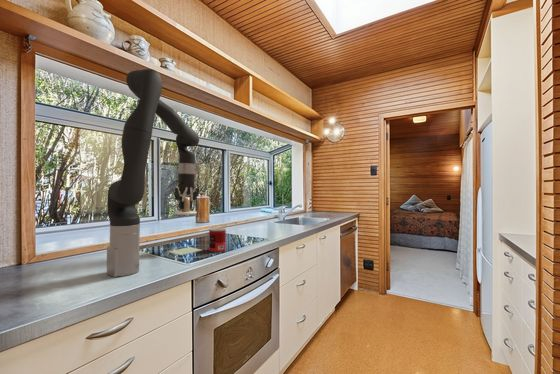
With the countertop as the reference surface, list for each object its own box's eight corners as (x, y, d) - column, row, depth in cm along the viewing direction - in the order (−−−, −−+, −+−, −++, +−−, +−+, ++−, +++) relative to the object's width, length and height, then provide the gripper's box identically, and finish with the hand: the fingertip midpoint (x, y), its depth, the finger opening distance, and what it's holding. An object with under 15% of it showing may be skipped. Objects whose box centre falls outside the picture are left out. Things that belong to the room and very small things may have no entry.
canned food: (227, 249, 127) (227, 227, 128) (222, 253, 119) (222, 230, 120) (212, 249, 128) (212, 227, 128) (206, 253, 120) (206, 229, 120)
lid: (182, 215, 115) (183, 197, 115) (169, 213, 120) (170, 196, 121) (200, 213, 123) (201, 197, 123) (188, 212, 129) (188, 196, 129)
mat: (180, 256, 114) (180, 255, 114) (167, 253, 120) (167, 251, 120) (202, 251, 124) (202, 249, 124) (189, 248, 129) (189, 247, 129)
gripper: (178, 172, 114) (177, 210, 114) (203, 174, 126) (202, 209, 126) (168, 172, 118) (167, 209, 118) (193, 174, 130) (193, 208, 130)
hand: (185, 209), depth 122 cm, fingers closed on lid, 3 cm apart
